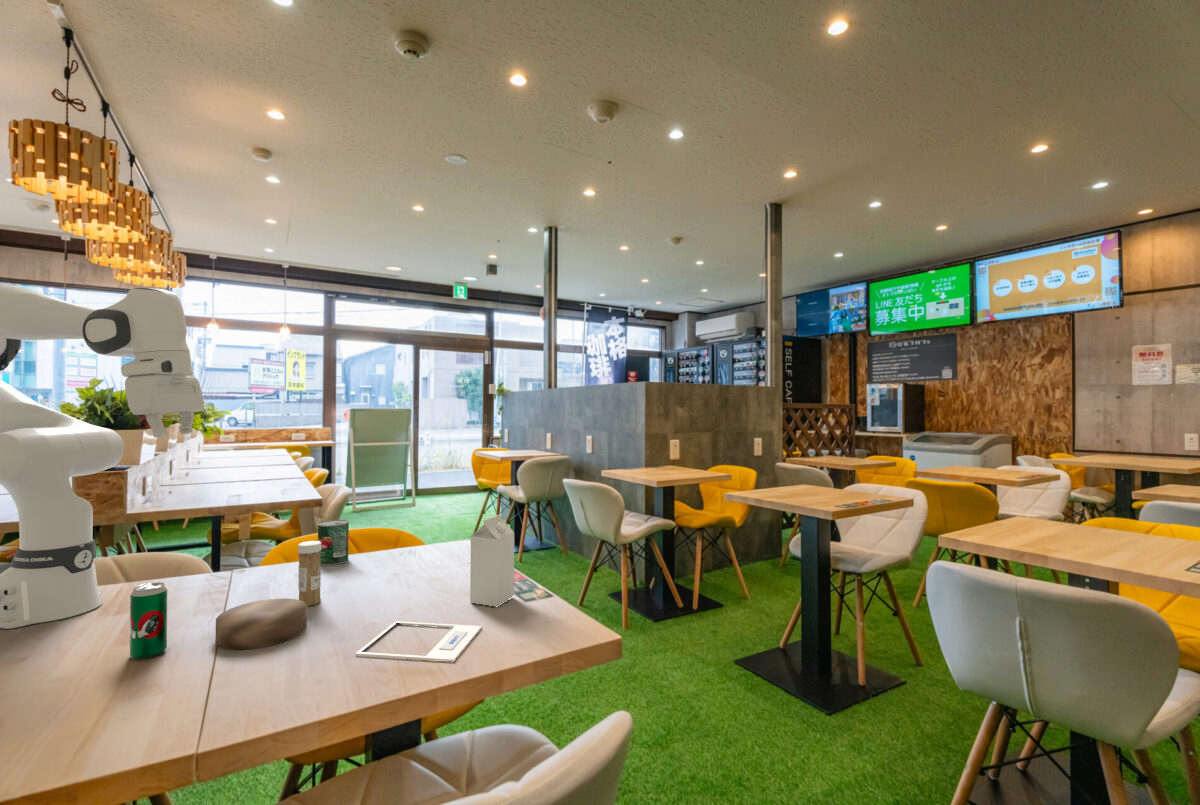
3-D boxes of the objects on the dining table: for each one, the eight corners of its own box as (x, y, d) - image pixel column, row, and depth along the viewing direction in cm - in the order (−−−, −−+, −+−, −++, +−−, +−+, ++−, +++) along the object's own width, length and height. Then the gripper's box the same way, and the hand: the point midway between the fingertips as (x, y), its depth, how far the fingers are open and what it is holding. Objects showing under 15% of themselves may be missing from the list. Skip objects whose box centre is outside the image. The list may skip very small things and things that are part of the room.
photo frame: (453, 658, 96) (355, 652, 98) (453, 664, 96) (355, 658, 98) (481, 625, 110) (395, 620, 112) (481, 630, 110) (395, 625, 112)
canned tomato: (310, 564, 152) (311, 524, 152) (329, 557, 160) (329, 518, 160) (336, 566, 151) (337, 526, 151) (354, 558, 159) (354, 520, 159)
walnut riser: (195, 648, 100) (195, 626, 100) (250, 617, 115) (251, 597, 115) (276, 651, 99) (276, 628, 99) (321, 618, 114) (321, 599, 114)
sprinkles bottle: (322, 604, 123) (322, 543, 123) (298, 608, 120) (299, 546, 120) (319, 598, 126) (320, 539, 126) (296, 602, 124) (297, 541, 124)
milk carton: (469, 603, 124) (470, 518, 124) (487, 593, 130) (488, 512, 130) (497, 608, 121) (497, 521, 121) (514, 598, 128) (514, 515, 128)
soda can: (174, 648, 100) (174, 582, 100) (148, 661, 95) (149, 591, 95) (148, 647, 101) (149, 581, 101) (121, 660, 96) (122, 590, 96)
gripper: (175, 371, 122) (184, 433, 123) (114, 366, 102) (124, 441, 103) (207, 368, 123) (216, 430, 124) (152, 363, 103) (163, 437, 104)
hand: (174, 435), depth 113 cm, fingers open, 8 cm apart
